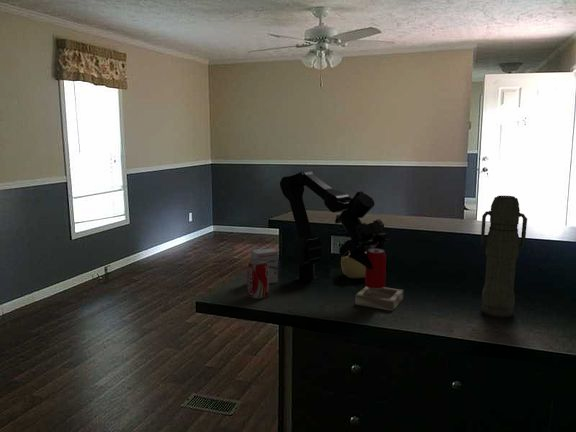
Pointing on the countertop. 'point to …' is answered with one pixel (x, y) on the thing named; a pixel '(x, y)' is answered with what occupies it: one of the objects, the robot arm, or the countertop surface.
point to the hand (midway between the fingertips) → (378, 267)
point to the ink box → (268, 261)
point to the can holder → (379, 298)
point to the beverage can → (376, 269)
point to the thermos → (501, 255)
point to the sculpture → (352, 267)
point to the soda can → (257, 278)
